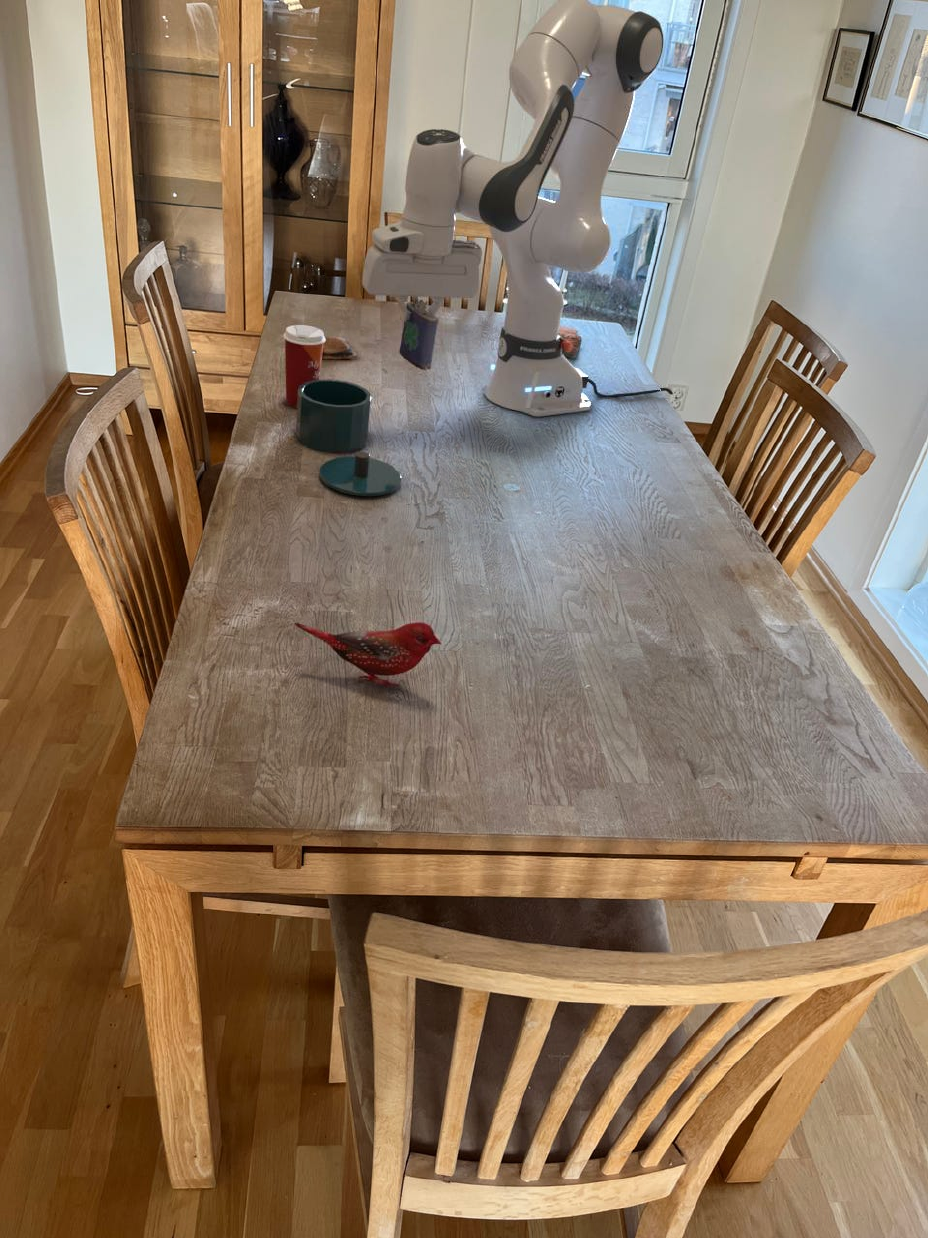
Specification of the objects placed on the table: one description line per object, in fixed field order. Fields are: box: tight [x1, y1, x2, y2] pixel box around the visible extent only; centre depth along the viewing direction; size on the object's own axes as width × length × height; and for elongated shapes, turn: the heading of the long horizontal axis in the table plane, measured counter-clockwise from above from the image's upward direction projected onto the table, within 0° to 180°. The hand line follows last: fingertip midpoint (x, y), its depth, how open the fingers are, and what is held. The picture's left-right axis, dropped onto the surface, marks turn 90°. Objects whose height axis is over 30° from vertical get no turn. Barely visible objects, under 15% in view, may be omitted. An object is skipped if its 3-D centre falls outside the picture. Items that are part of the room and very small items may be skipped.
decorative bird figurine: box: [293, 621, 442, 687], centre depth 116 cm, size 3×18×10 cm, turn 80°
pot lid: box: [319, 451, 403, 497], centre depth 162 cm, size 14×14×5 cm
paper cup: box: [283, 324, 326, 409], centre depth 183 cm, size 8×8×14 cm
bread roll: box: [322, 336, 358, 360], centre depth 211 cm, size 11×8×4 cm
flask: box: [398, 298, 439, 371], centre depth 170 cm, size 9×3×11 cm, turn 30°
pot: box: [295, 378, 372, 454], centre depth 173 cm, size 13×13×8 cm
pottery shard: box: [558, 325, 583, 359], centre depth 237 cm, size 16×16×4 cm
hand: (417, 320), depth 170 cm, fingers closed on flask, 3 cm apart
